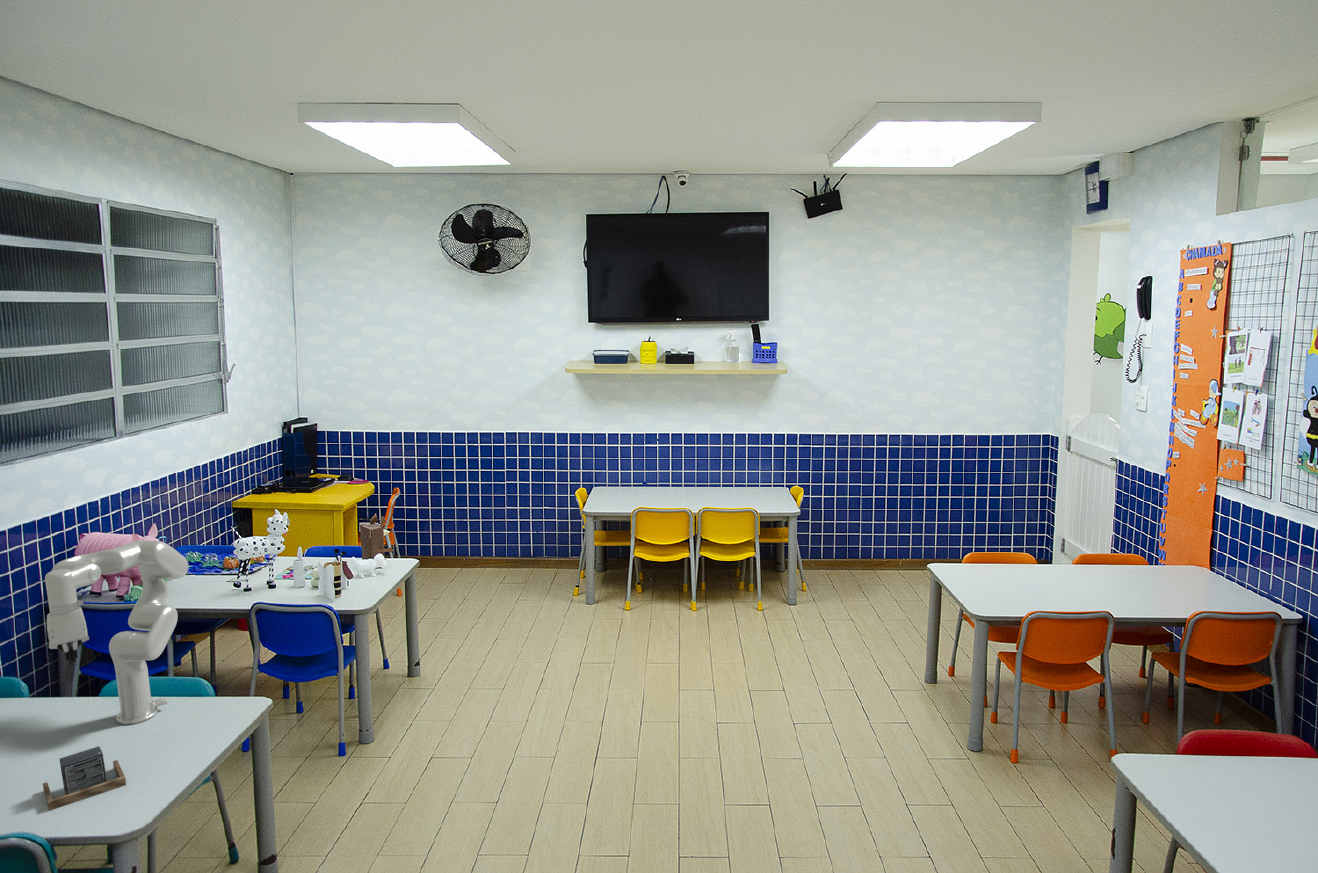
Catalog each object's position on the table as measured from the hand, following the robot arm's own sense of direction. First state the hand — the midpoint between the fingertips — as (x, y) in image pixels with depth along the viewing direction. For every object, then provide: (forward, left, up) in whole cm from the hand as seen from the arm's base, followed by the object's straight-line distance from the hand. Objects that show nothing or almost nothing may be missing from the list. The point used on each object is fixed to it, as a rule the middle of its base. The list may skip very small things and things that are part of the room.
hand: (72, 661), depth 273 cm
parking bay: (+3, +25, -32) cm, 40 cm away
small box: (+3, +25, -32) cm, 40 cm away
